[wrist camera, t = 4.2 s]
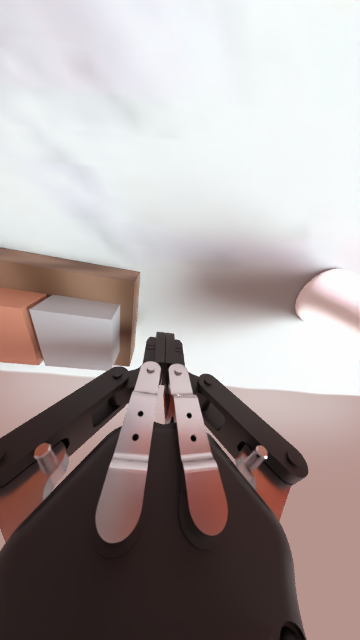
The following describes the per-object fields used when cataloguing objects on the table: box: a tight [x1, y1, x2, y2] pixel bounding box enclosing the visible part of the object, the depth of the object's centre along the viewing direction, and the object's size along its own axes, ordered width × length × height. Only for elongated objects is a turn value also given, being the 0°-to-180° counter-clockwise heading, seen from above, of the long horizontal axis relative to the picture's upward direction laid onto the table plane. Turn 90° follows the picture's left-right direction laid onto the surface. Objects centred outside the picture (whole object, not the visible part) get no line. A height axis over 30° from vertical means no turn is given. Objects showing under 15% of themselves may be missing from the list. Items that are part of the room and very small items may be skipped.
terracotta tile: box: [0, 287, 47, 365], centre depth 12 cm, size 5×5×2 cm
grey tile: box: [29, 295, 120, 371], centre depth 13 cm, size 5×5×2 cm
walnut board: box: [0, 248, 140, 366], centre depth 15 cm, size 12×9×3 cm
